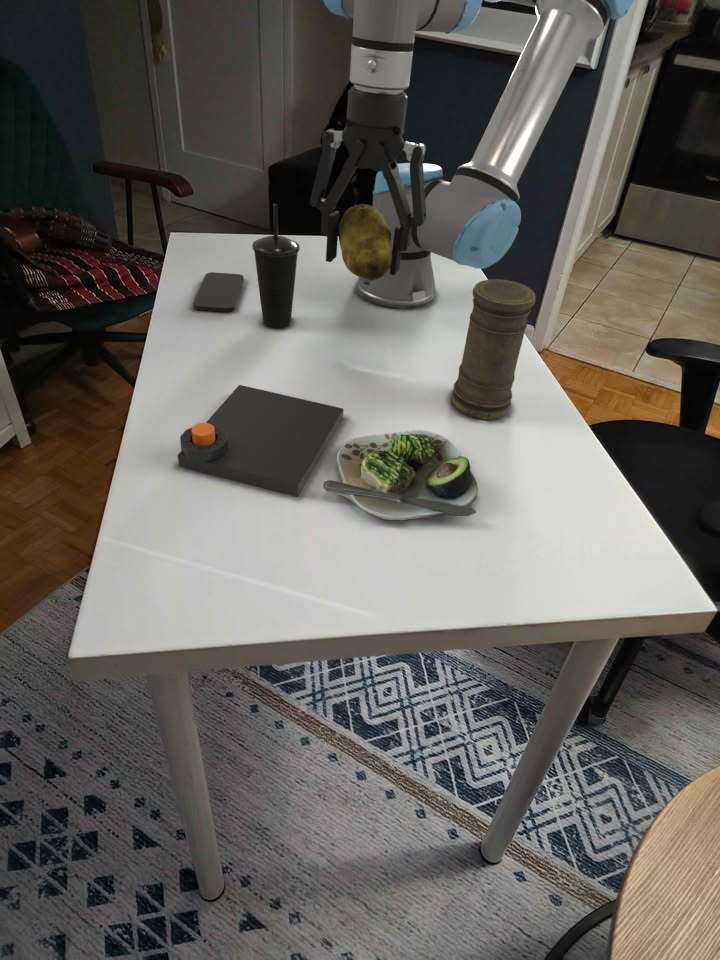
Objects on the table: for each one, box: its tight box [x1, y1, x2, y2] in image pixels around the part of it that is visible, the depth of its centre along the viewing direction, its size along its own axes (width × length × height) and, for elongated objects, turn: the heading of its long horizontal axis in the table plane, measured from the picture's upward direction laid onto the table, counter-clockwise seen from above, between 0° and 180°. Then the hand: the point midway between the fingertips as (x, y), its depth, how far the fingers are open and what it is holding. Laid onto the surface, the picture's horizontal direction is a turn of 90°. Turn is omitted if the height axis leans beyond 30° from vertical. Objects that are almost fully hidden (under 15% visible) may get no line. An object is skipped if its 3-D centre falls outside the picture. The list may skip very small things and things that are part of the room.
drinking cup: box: [251, 203, 301, 330], centre depth 107 cm, size 8×8×20 cm
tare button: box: [191, 422, 216, 446], centre depth 80 cm, size 3×3×2 cm
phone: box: [192, 271, 245, 313], centre depth 121 cm, size 7×1×15 cm
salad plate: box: [322, 429, 479, 521], centre depth 80 cm, size 19×18×5 cm
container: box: [450, 278, 536, 421], centre depth 92 cm, size 9×9×18 cm
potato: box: [338, 203, 392, 281], centre depth 93 cm, size 8×13×8 cm, turn 175°
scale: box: [177, 384, 344, 497], centre depth 86 cm, size 18×16×4 cm
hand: (362, 265), depth 95 cm, fingers closed on potato, 9 cm apart
